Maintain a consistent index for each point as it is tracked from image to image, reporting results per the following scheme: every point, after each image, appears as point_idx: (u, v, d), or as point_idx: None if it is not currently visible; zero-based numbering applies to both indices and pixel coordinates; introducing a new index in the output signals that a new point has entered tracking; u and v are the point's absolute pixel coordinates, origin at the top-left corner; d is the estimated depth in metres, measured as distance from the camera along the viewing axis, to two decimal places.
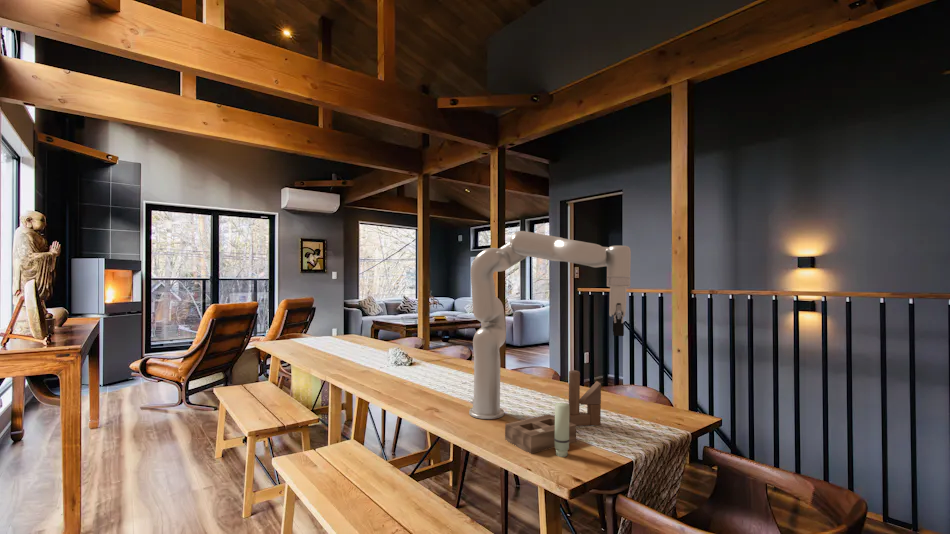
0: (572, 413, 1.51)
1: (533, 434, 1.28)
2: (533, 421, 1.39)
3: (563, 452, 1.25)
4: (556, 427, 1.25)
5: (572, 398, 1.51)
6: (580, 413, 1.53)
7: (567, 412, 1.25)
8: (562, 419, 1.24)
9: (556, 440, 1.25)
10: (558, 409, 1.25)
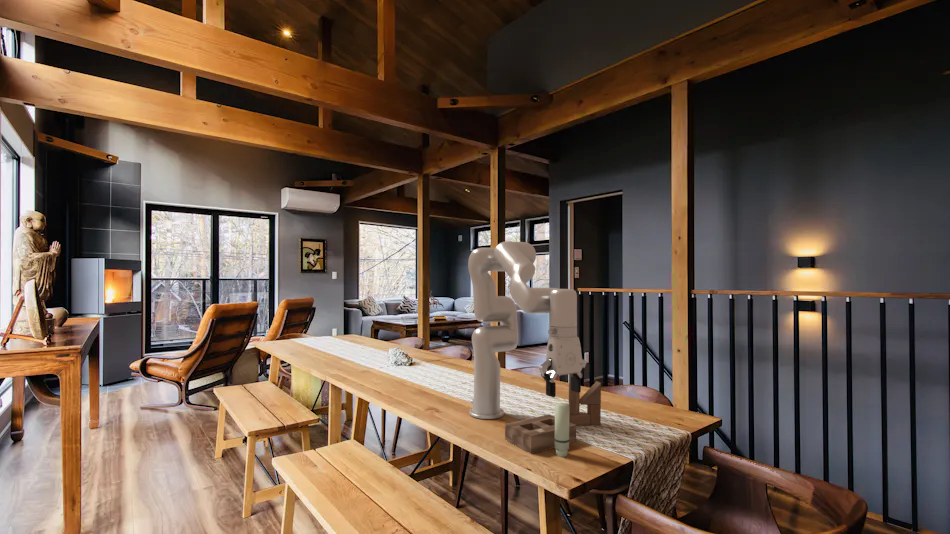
0: (572, 413, 1.51)
1: (533, 434, 1.28)
2: (533, 421, 1.39)
3: (563, 452, 1.25)
4: (556, 427, 1.25)
5: (572, 398, 1.51)
6: (580, 413, 1.53)
7: (567, 412, 1.25)
8: (562, 419, 1.24)
9: (556, 440, 1.25)
10: (558, 409, 1.25)
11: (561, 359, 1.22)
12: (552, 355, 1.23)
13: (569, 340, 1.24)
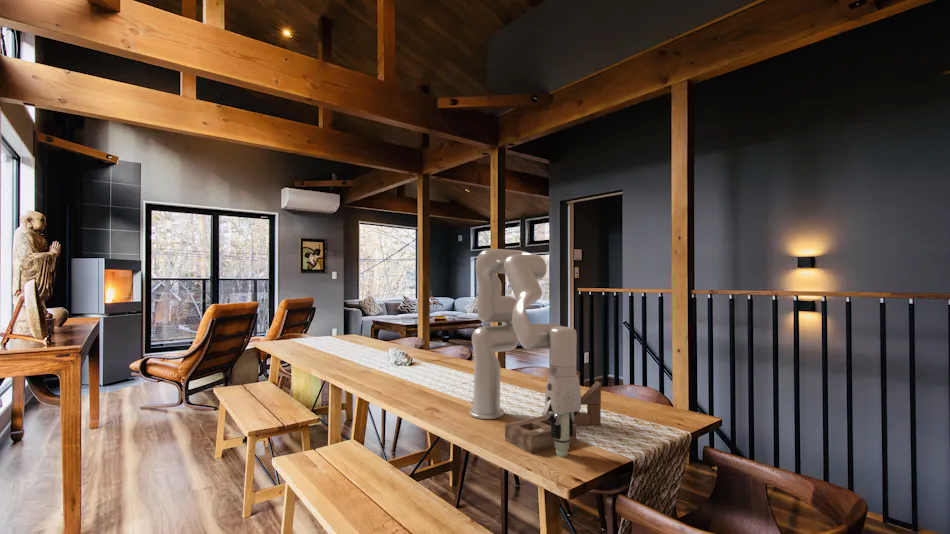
0: None
1: (533, 434, 1.28)
2: (533, 421, 1.39)
3: (563, 452, 1.25)
4: None
5: None
6: (580, 413, 1.53)
7: None
8: (562, 419, 1.24)
9: (556, 440, 1.25)
10: None
11: (560, 399, 1.22)
12: (551, 395, 1.23)
13: (568, 379, 1.24)
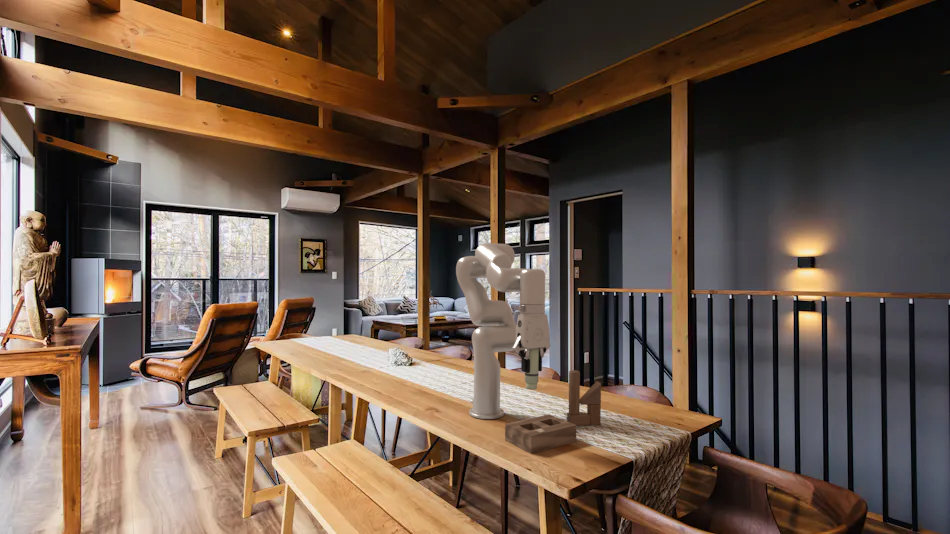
0: (572, 413, 1.51)
1: (533, 434, 1.28)
2: (533, 421, 1.39)
3: (532, 385, 1.33)
4: None
5: (572, 398, 1.51)
6: (580, 413, 1.53)
7: None
8: (531, 354, 1.33)
9: (526, 374, 1.33)
10: None
11: (529, 334, 1.31)
12: (521, 330, 1.31)
13: (537, 317, 1.32)
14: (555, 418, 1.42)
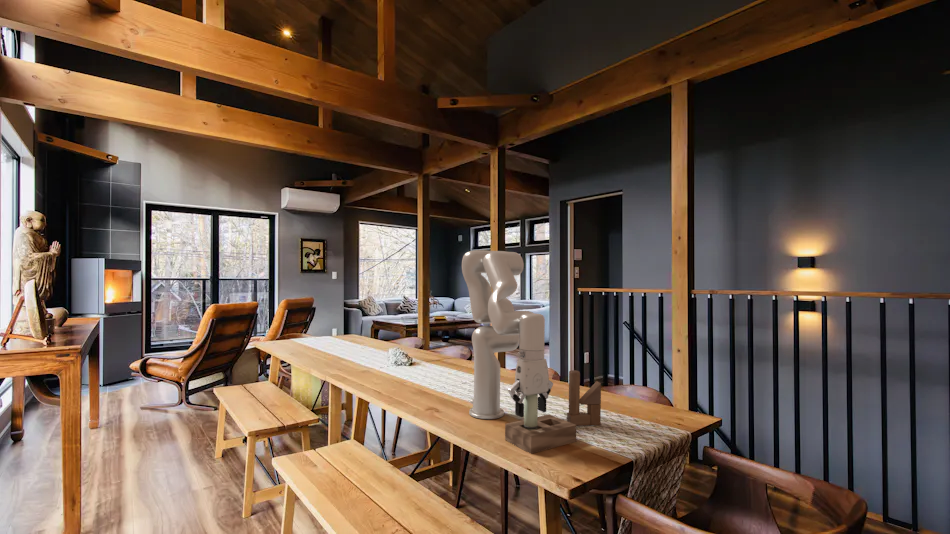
0: (572, 413, 1.51)
1: (533, 434, 1.28)
2: None
3: None
4: (525, 414, 1.33)
5: (572, 398, 1.51)
6: (580, 413, 1.53)
7: (535, 400, 1.33)
8: (530, 406, 1.32)
9: (525, 426, 1.33)
10: (527, 397, 1.33)
11: (528, 380, 1.30)
12: (520, 377, 1.31)
13: (536, 362, 1.32)
14: (555, 418, 1.42)
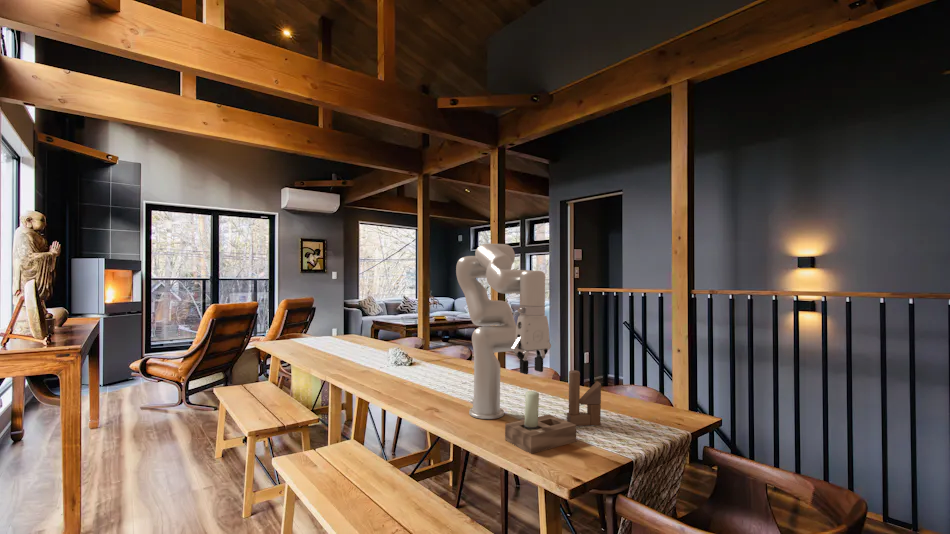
0: (572, 413, 1.51)
1: (533, 434, 1.28)
2: None
3: None
4: (526, 414, 1.33)
5: (572, 398, 1.51)
6: (580, 413, 1.53)
7: (536, 400, 1.33)
8: (531, 406, 1.32)
9: (525, 426, 1.33)
10: (528, 397, 1.33)
11: (529, 336, 1.31)
12: (520, 332, 1.31)
13: (537, 318, 1.33)
14: (555, 418, 1.42)
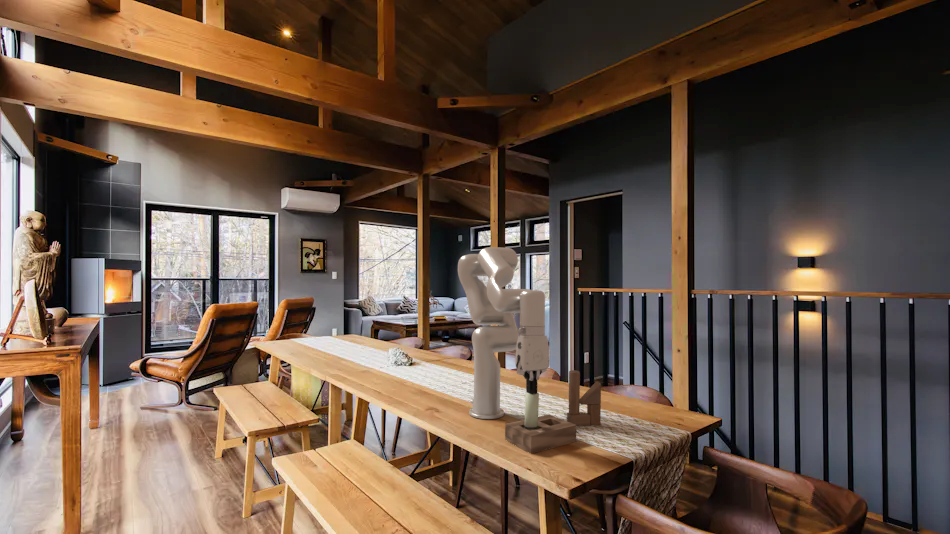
0: (572, 413, 1.51)
1: (533, 434, 1.28)
2: None
3: None
4: (526, 414, 1.33)
5: (572, 398, 1.51)
6: (580, 413, 1.53)
7: (536, 401, 1.32)
8: (531, 407, 1.32)
9: (525, 426, 1.33)
10: (528, 398, 1.32)
11: (529, 356, 1.30)
12: (520, 352, 1.31)
13: (537, 338, 1.32)
14: (555, 418, 1.42)
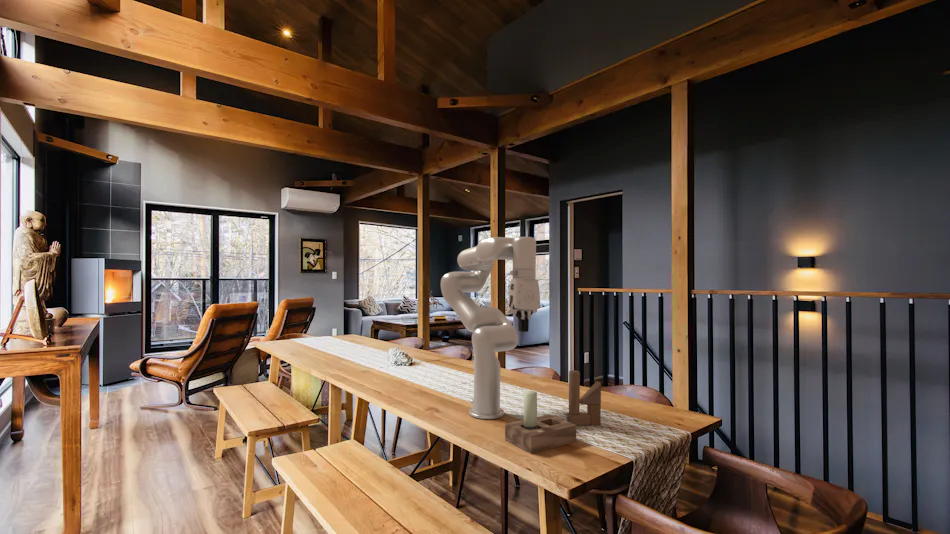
0: (572, 413, 1.51)
1: (533, 434, 1.28)
2: None
3: None
4: (525, 414, 1.34)
5: (572, 398, 1.51)
6: (580, 413, 1.52)
7: (534, 400, 1.33)
8: (530, 406, 1.33)
9: (525, 426, 1.33)
10: (526, 397, 1.33)
11: (520, 296, 1.42)
12: (513, 293, 1.43)
13: (528, 280, 1.44)
14: (555, 418, 1.42)
